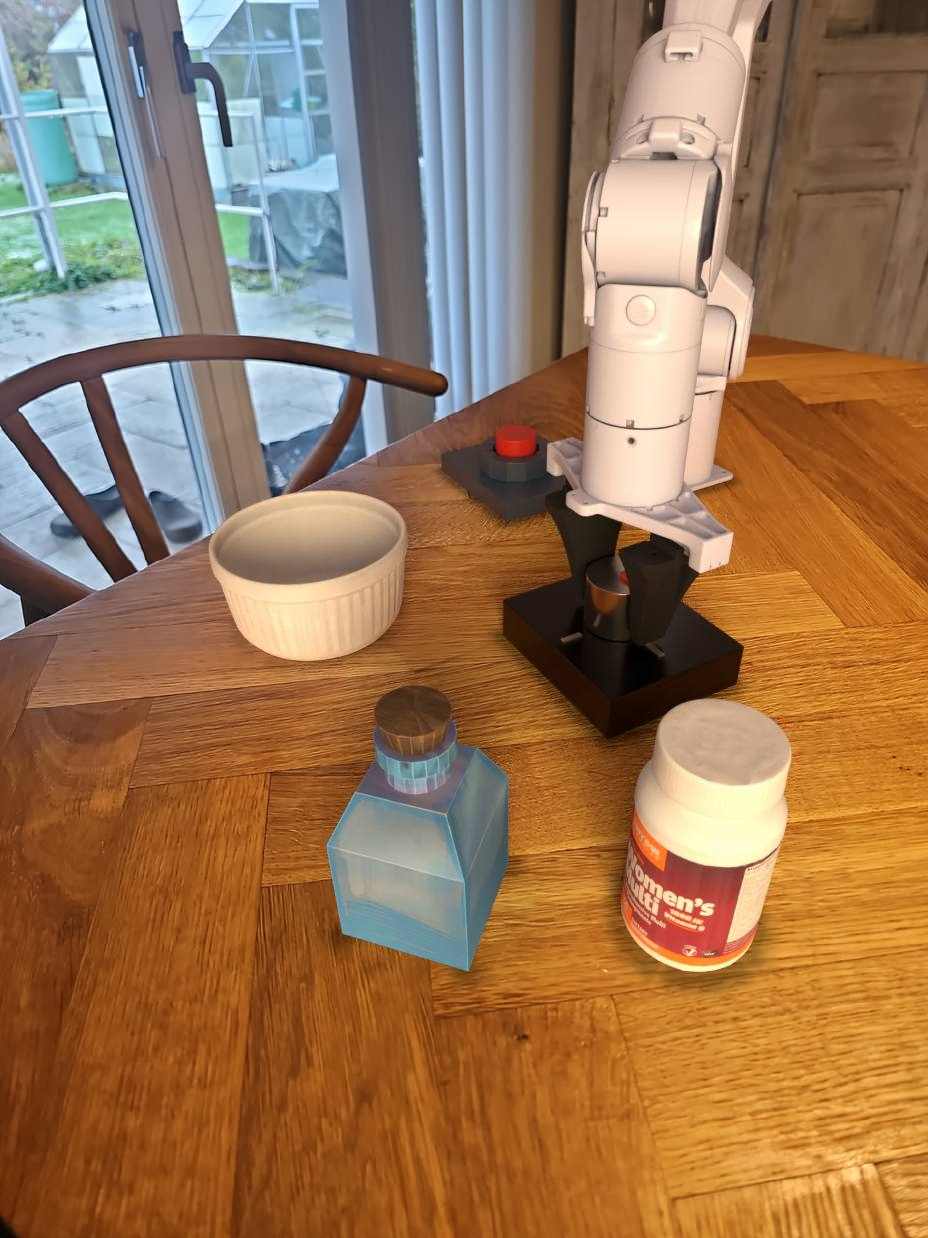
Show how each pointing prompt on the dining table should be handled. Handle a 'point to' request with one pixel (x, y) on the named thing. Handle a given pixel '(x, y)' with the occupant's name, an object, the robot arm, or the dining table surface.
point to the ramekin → (312, 572)
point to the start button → (515, 441)
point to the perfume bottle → (421, 835)
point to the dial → (607, 600)
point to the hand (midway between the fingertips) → (618, 615)
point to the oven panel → (619, 659)
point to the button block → (504, 478)
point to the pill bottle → (705, 833)
